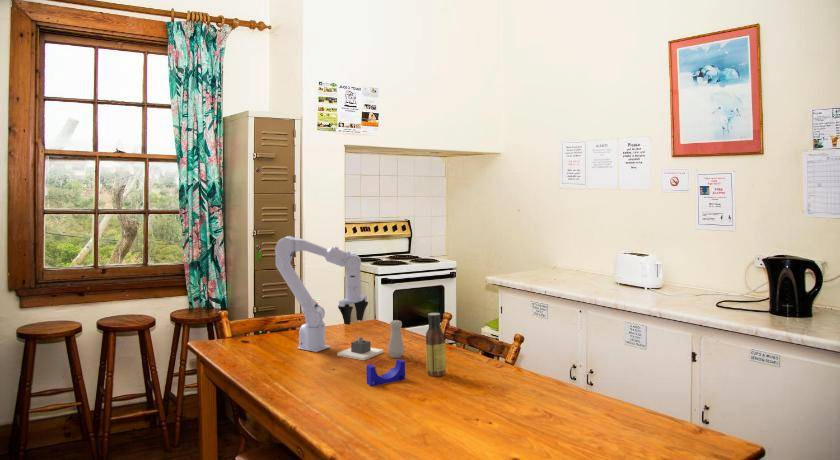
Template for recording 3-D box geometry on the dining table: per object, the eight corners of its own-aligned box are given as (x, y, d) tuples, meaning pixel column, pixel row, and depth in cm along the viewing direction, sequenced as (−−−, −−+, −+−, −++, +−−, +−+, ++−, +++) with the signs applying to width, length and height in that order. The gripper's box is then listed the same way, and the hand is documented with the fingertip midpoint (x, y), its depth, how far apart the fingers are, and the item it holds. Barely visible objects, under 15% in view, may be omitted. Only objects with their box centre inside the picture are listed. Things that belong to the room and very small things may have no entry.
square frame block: (351, 351, 207) (351, 342, 207) (359, 348, 212) (359, 339, 211) (362, 353, 205) (362, 344, 204) (370, 350, 209) (370, 341, 209)
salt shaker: (405, 354, 207) (405, 319, 207) (403, 359, 202) (403, 322, 201) (389, 354, 208) (389, 318, 207) (386, 358, 202) (386, 322, 201)
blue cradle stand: (398, 376, 184) (398, 357, 183) (405, 380, 180) (405, 361, 179) (364, 382, 177) (364, 363, 177) (371, 387, 174) (370, 367, 173)
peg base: (337, 355, 206) (337, 339, 206) (357, 347, 216) (357, 332, 216) (363, 360, 200) (363, 343, 200) (383, 352, 210) (383, 336, 210)
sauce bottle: (448, 372, 187) (448, 312, 185) (442, 378, 181) (442, 316, 180) (429, 370, 189) (429, 311, 188) (423, 376, 183) (422, 315, 182)
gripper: (349, 290, 206) (349, 327, 207) (373, 284, 219) (373, 319, 220) (334, 288, 210) (334, 325, 211) (358, 283, 222) (358, 317, 223)
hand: (353, 322), depth 215 cm, fingers open, 7 cm apart
